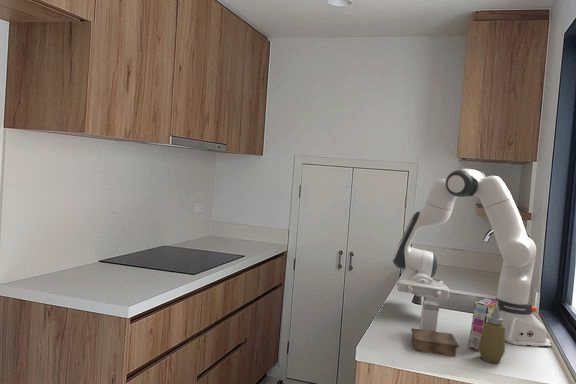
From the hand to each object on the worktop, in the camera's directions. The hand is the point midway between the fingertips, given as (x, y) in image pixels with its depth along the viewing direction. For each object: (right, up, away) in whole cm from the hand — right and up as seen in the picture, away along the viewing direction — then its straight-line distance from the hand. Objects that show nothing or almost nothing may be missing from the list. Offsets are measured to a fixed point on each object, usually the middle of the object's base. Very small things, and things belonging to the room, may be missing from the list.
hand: (425, 293), depth 205 cm
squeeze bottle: (+13, -16, -31) cm, 38 cm away
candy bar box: (+15, -15, -19) cm, 28 cm away
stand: (-4, -14, -25) cm, 29 cm away
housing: (-2, -13, -11) cm, 17 cm away
